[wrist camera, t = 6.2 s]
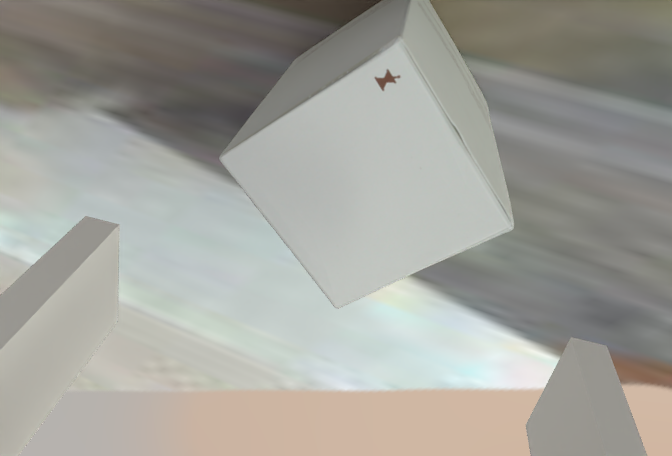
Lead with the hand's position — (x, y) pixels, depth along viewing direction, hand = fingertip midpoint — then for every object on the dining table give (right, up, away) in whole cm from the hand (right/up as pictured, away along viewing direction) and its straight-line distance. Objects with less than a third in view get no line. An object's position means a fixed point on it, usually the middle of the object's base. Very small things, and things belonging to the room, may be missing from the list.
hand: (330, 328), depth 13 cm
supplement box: (+3, +10, +17) cm, 20 cm away
